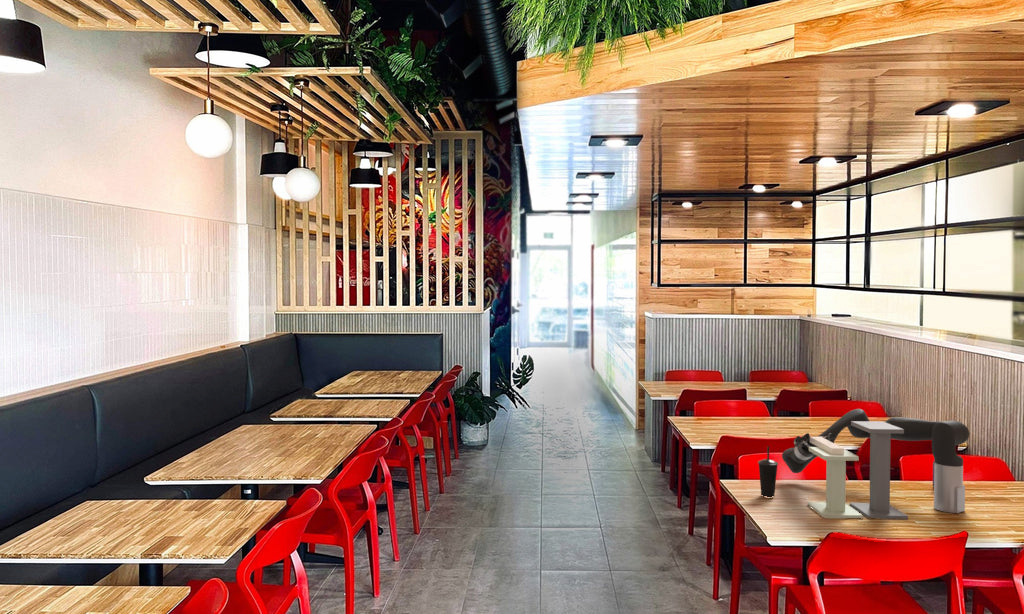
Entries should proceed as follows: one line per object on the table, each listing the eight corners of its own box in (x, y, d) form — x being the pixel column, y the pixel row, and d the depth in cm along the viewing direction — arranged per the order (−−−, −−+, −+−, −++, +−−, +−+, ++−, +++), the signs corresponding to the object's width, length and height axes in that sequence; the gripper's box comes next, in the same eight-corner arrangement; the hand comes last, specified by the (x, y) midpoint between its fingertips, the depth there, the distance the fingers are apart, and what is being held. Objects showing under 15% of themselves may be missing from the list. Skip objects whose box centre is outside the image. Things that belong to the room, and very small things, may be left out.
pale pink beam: (809, 442, 291) (809, 436, 291) (820, 442, 291) (820, 436, 290) (831, 454, 269) (832, 448, 269) (844, 454, 269) (844, 448, 269)
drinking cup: (778, 495, 294) (779, 445, 294) (777, 500, 287) (777, 449, 287) (758, 493, 297) (759, 443, 297) (756, 497, 290) (757, 447, 290)
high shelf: (847, 504, 282) (848, 421, 281) (884, 504, 281) (885, 421, 281) (868, 518, 264) (869, 430, 263) (908, 519, 263) (909, 430, 263)
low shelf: (805, 503, 282) (806, 446, 282) (842, 504, 282) (843, 447, 281) (823, 518, 264) (824, 457, 264) (863, 518, 264) (863, 457, 263)
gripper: (787, 439, 302) (799, 426, 288) (822, 439, 302) (836, 426, 288) (790, 457, 299) (802, 444, 284) (825, 457, 298) (840, 444, 284)
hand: (819, 435), depth 286 cm, fingers open, 8 cm apart
